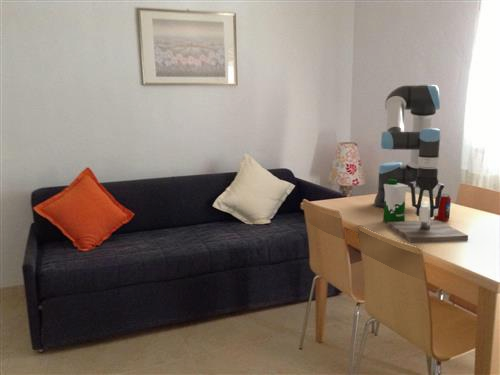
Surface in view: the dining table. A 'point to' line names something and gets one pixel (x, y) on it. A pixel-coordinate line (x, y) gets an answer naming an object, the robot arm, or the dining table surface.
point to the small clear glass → (425, 225)
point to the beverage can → (443, 208)
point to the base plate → (426, 232)
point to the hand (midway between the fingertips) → (424, 224)
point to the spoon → (426, 211)
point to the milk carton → (394, 201)
